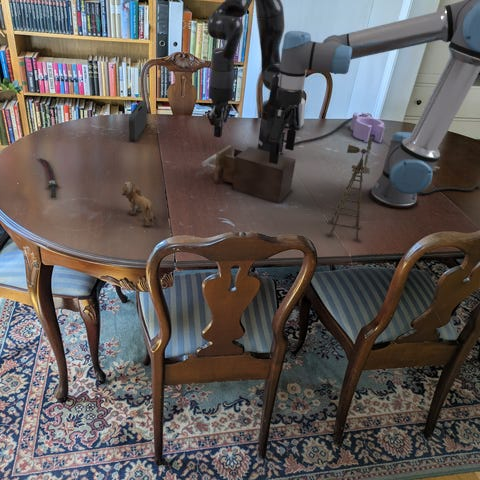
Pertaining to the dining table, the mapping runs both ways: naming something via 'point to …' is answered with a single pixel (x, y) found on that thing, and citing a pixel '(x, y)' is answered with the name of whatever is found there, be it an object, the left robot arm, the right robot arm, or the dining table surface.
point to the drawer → (223, 163)
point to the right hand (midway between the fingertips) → (281, 156)
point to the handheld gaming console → (137, 120)
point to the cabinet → (263, 174)
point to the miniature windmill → (356, 171)
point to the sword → (52, 181)
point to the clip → (367, 127)
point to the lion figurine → (137, 201)
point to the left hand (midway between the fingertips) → (217, 136)
